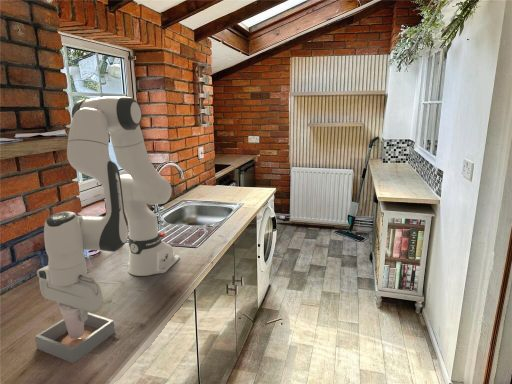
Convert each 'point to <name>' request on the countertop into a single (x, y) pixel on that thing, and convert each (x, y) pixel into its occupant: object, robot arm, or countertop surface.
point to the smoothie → (72, 321)
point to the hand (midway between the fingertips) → (74, 317)
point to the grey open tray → (82, 348)
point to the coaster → (73, 342)
